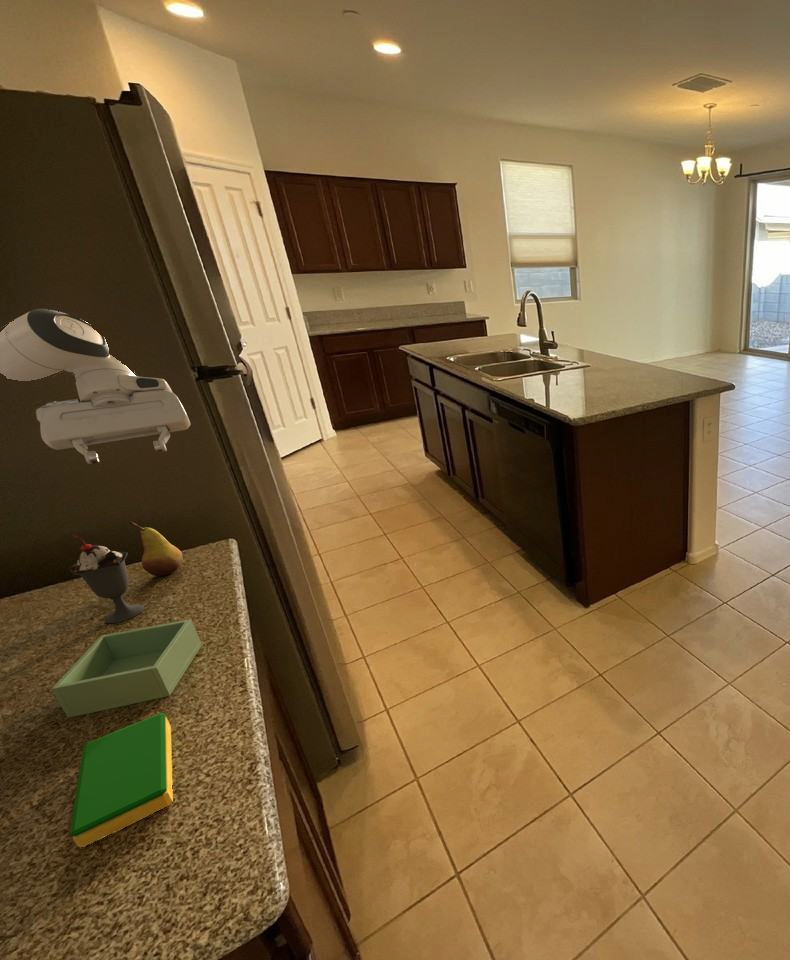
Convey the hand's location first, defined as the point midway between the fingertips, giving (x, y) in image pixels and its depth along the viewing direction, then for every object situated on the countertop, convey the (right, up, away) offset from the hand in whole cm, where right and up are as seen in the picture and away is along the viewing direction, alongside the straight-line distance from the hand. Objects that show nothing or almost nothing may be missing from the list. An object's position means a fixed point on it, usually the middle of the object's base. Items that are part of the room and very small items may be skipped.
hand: (128, 456), depth 97 cm
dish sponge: (+39, -38, -39) cm, 67 cm away
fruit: (+7, -22, +1) cm, 23 cm away
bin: (+26, -32, -25) cm, 48 cm away
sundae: (+10, -27, -11) cm, 31 cm away
